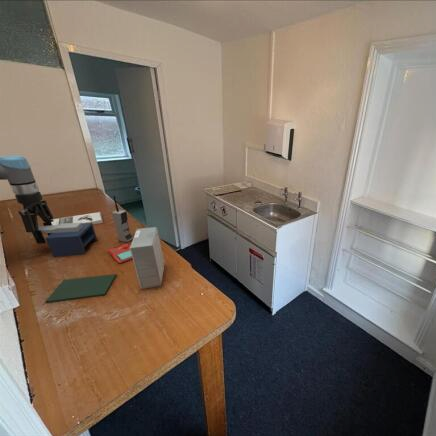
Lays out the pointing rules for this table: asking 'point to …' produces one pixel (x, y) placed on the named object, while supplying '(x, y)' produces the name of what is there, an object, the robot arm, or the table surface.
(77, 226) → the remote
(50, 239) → the navy slotted box
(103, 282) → the mat
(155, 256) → the hard drive box
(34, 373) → the table surface
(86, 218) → the book
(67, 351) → the table surface
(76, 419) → the table surface
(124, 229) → the vintage mobile phone
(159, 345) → the table surface
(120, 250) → the handheld gaming console
